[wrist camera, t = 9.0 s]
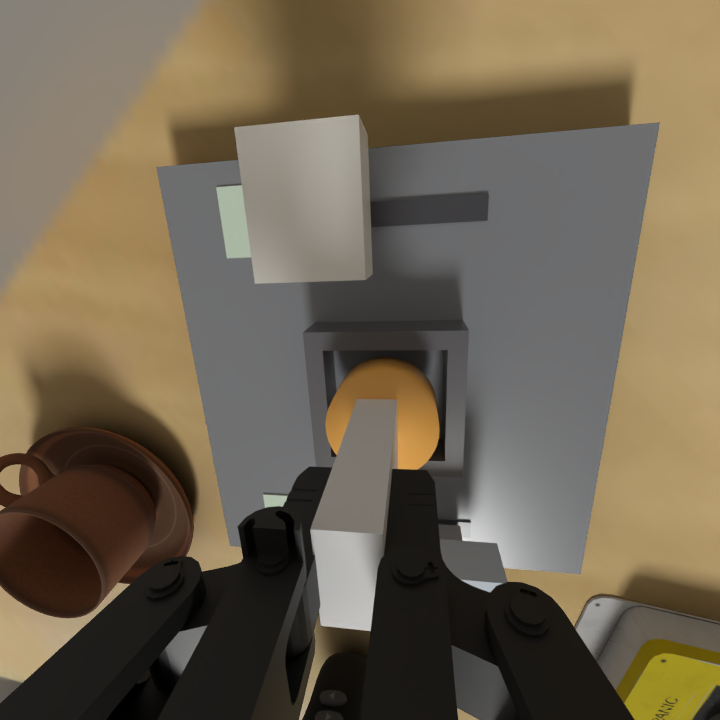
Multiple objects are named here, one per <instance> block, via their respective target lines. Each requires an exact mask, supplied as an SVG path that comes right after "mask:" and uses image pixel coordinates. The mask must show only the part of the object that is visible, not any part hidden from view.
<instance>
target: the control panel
mask: <svg viewBox="0 0 720 720" xmlns="http://www.w3.org/2000/svg"><path fill="white" fill-rule="evenodd" d="M659 124H660V122H659V123H648V124H637V125H625V126H614V127H603V128H591V129H580V130H569V131H558V132H546V133H535V134H524V135H513V136H501V137H490V138H479V139H467V140H456V141H445V142H434V143H422V144H411V145H400V146H389V147H377V148H368V155H369V182H370V210H371V238H372V266H373V274H372V275H371V276H370V277H369V278H367V279H366V280H351V281H321V282H292V283H263V284H255V281H254V274H253V266H252V259H251V251H250V244H249V236H248V229H247V221H246V214H245V206H244V199H243V191H242V183H241V176H240V168H239V161H238V160H231V161H220V162H208V163H197V164H186V165H174V166H163V167H157V173H158V178H159V183H160V188H161V193H162V198H163V203H164V209H165V214H166V219H167V224H168V229H169V234H170V239H171V244H172V250H173V255H174V260H175V265H176V270H177V275H178V280H179V286H180V291H181V296H182V301H183V306H184V311H185V316H186V321H187V327H188V332H189V337H190V342H191V347H192V352H193V357H194V363H195V368H196V373H197V378H198V383H199V388H200V393H201V398H202V404H203V409H204V414H205V419H206V424H207V429H208V434H209V440H210V445H211V450H212V455H213V460H214V465H215V470H216V475H217V481H218V486H219V491H220V496H221V501H222V506H223V511H224V517H225V522H226V527H227V532H228V537H229V542H230V546H238V547H241V542H240V537H239V531H238V525H239V524H240V523H241V522H242V521H243V520H244V519H245V518H246V517H247V516H249V515H250V514H252V513H253V512H255V511H257V510H260V509H263V508H266V507H275V506H281V507H283V505H284V503H285V501H286V500H287V497H288V495H289V493H290V491H291V489H292V487H293V484H294V482H295V480H296V478H297V476H299V475H300V474H301V473H302V472H303V471H304V470H306V469H307V468H308V467H309V466H310V467H333V464H334V462H335V459H336V456H337V455H336V454H335V452H334V451H333V449H332V448H331V445H330V443H329V441H328V438H327V434H326V415H327V411H328V408H329V406H330V404H331V402H332V400H333V398H334V396H335V394H336V392H337V390H338V388H339V386H340V384H341V382H342V381H343V379H344V377H345V376H346V375H347V373H348V372H349V371H350V370H351V369H352V368H353V367H355V366H356V365H358V364H359V363H361V362H363V361H365V360H368V359H371V358H376V357H394V358H399V359H402V360H405V361H407V362H409V363H411V364H413V365H414V366H416V367H417V368H418V369H420V370H421V371H422V372H423V373H424V374H425V375H426V377H427V378H428V379H429V381H430V383H431V385H432V386H433V389H434V392H435V397H436V403H437V411H438V419H439V431H440V432H439V440H438V444H437V447H436V449H435V451H434V453H433V454H432V456H431V457H430V459H429V460H428V461H427V462H426V463H425V464H424V465H423V466H422V467H420V468H419V469H418V470H427V471H428V473H429V474H430V476H431V477H432V478H433V480H434V481H435V490H436V501H437V513H438V524H442V525H457V526H460V528H461V534H462V540H463V541H473V542H487V543H497V545H498V549H499V552H500V556H501V560H502V563H503V567H504V568H511V569H523V570H536V571H548V572H560V573H573V574H581V568H582V562H583V557H584V551H585V545H586V540H587V534H588V528H589V523H590V517H591V511H592V506H593V500H594V494H595V488H596V483H597V477H598V471H599V466H600V460H601V454H602V449H603V443H604V437H605V431H606V426H607V420H608V414H609V409H610V403H611V397H612V392H613V386H614V380H615V375H616V369H617V363H618V357H619V352H620V346H621V340H622V335H623V329H624V323H625V318H626V312H627V306H628V300H629V295H630V289H631V283H632V278H633V272H634V266H635V261H636V255H637V249H638V243H639V238H640V232H641V226H642V221H643V215H644V209H645V204H646V198H647V192H648V187H649V181H650V175H651V169H652V164H653V158H654V152H655V147H656V141H657V135H658V130H659Z"/></svg>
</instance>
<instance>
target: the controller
mask: <svg viewBox="0 0 720 720" xmlns="http://www.w3.org/2000/svg"><path fill="white" fill-rule="evenodd" d="M366 667H367V657H366V656H365V655H361V654H358V653H336V654H334V655H331V656H330V657H329V658H328V659H327V660H326V661H325V663H324V664H323V666H322V668H321V670H320V673H319V675H318V678H317V680H316V684H315V687H314V690H313V693H312V696H311V700H310V702H309V705H308V707H307V710H306V712H305V715H304V717H303V719H302V720H360V719H361V711H362V702H363V693H364V684H365V675H366Z"/></svg>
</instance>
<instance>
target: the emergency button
mask: <svg viewBox="0 0 720 720" xmlns="http://www.w3.org/2000/svg"><path fill="white" fill-rule="evenodd" d="M574 628H575V629H576V631H577V632H578V634H579V635H580V637H581V639H582V640H583V642H584V643H585V645H586V646H587V648H588V649H589V651H590V652H591V654H592V655H593V657H594V658H595V660H596V661H597V663H598V664H599V666H600V667H601V669H602V671H603V672H604V674H605V675H606V677H607V678H608V680H609V681H610V683H611V684H612V686H613V687H614V689H615V690H616V692H617V693H618V695H619V696H620V698H621V699H622V701H623V703H624V704H625V706H626V707H627V709H628V710H629V712H630V713H631V715H632V716H633V718H634V719H635V720H720V621H716V620H711V619H707V618H703V617H698V616H694V615H690V614H685V613H681V612H677V611H673V610H668V609H664V608H660V607H655V606H651V605H647V604H642V603H638V602H634V601H629V600H625V599H621V598H616V597H612V596H597V597H593V598H591V599H590V600H589V601H588V602H587V603H586V605H585V607H584V609H583V611H582V613H581V615H580V617H579V619H578V621H577V623H576V625H575V627H574Z"/></svg>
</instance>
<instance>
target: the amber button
mask: <svg viewBox="0 0 720 720" xmlns="http://www.w3.org/2000/svg"><path fill="white" fill-rule="evenodd" d="M357 399H397V419H398V469H411V470H418V469H419V468H420V467H422V466H423V465H424V464H425V463H426V462H427V461H428V460H429V459H430V457H431V456H432V454H433V453H434V451H435V449H436V447H437V444H438V440H439V432H440V431H439V419H438V411H437V403H436V397H435V392H434V389H433V386H432V385H431V383H430V381H429V379H428V378H427V377H426V375H425V374H424V373H423V372H422V371H421V370H420V369H418V368H417V367H416V366H414V365H413V364H411V363H409V362H407V361H405V360H402V359H399V358H394V357H376V358H371V359H368V360H365V361H363V362H361V363H359V364H358V365H356V366H355V367H353V368H352V369H351V370H350V371H349V372H348V373H347V375H346V376H345V377H344V379H343V381H342V382H341V384H340V386H339V388H338V390H337V392H336V394H335V396H334V398H333V400H332V402H331V404H330V406H329V408H328V411H327V415H326V434H327V438H328V441H329V443H330V445H331V448H332V449H333V451H334V452H335V454H336V455H337V453H338V450H339V448H340V445H341V442H342V439H343V437H344V434H345V431H346V428H347V425H348V423H349V420H350V417H351V414H352V411H353V409H354V406H355V403H356V400H357Z"/></svg>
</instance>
